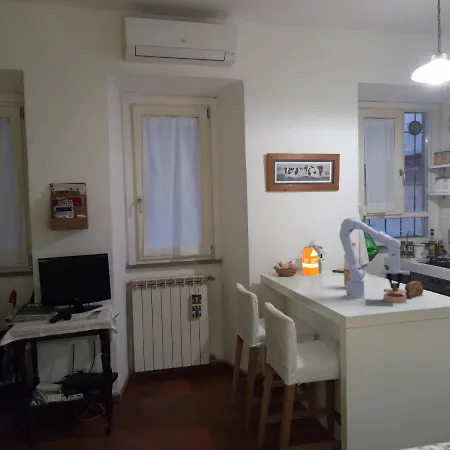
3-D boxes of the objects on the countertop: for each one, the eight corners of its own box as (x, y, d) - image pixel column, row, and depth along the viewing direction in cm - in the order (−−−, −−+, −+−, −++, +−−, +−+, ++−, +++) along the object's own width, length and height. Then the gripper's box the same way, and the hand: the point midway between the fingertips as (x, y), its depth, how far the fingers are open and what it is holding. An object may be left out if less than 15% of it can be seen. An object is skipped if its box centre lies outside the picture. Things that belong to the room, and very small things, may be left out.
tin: (409, 299, 214) (409, 284, 213) (403, 298, 216) (403, 283, 216) (424, 295, 223) (423, 280, 222) (418, 294, 225) (418, 279, 225)
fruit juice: (341, 288, 248) (340, 242, 247) (351, 286, 254) (350, 241, 252) (353, 290, 241) (352, 243, 239) (363, 288, 246) (362, 242, 244)
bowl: (384, 302, 210) (383, 296, 209) (383, 297, 220) (383, 292, 220) (407, 303, 206) (407, 297, 206) (405, 298, 216) (405, 293, 216)
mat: (365, 305, 204) (365, 305, 204) (365, 300, 217) (365, 299, 216) (392, 307, 200) (392, 306, 200) (392, 301, 212) (392, 300, 212)
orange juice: (310, 275, 294) (309, 248, 293) (302, 274, 301) (301, 247, 301) (318, 274, 298) (317, 247, 297) (310, 273, 305) (309, 246, 304)
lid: (383, 293, 209) (383, 284, 209) (384, 289, 219) (383, 281, 219) (406, 294, 205) (406, 285, 205) (406, 290, 215) (405, 282, 215)
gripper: (379, 263, 211) (380, 288, 211) (410, 263, 206) (410, 290, 206) (379, 261, 217) (380, 286, 218) (409, 261, 212) (409, 287, 213)
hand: (394, 287), depth 212 cm, fingers closed on lid, 3 cm apart
